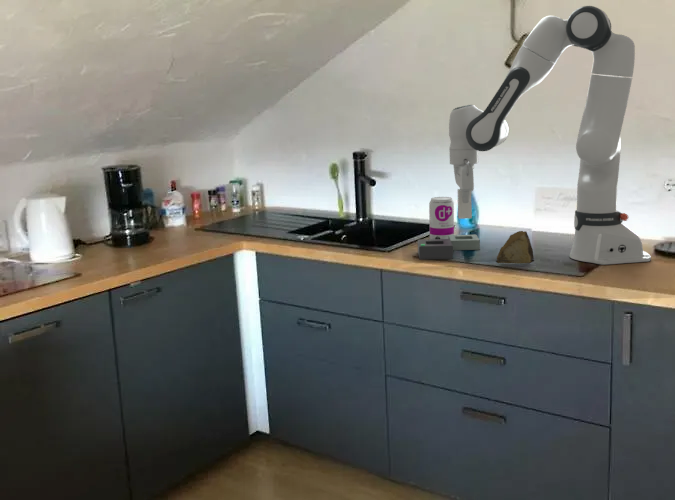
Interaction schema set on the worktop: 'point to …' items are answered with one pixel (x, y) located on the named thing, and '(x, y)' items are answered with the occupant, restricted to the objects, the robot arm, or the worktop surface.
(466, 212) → the plug
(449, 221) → the supplement can
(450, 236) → the block
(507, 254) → the rock
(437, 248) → the port
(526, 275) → the worktop surface
